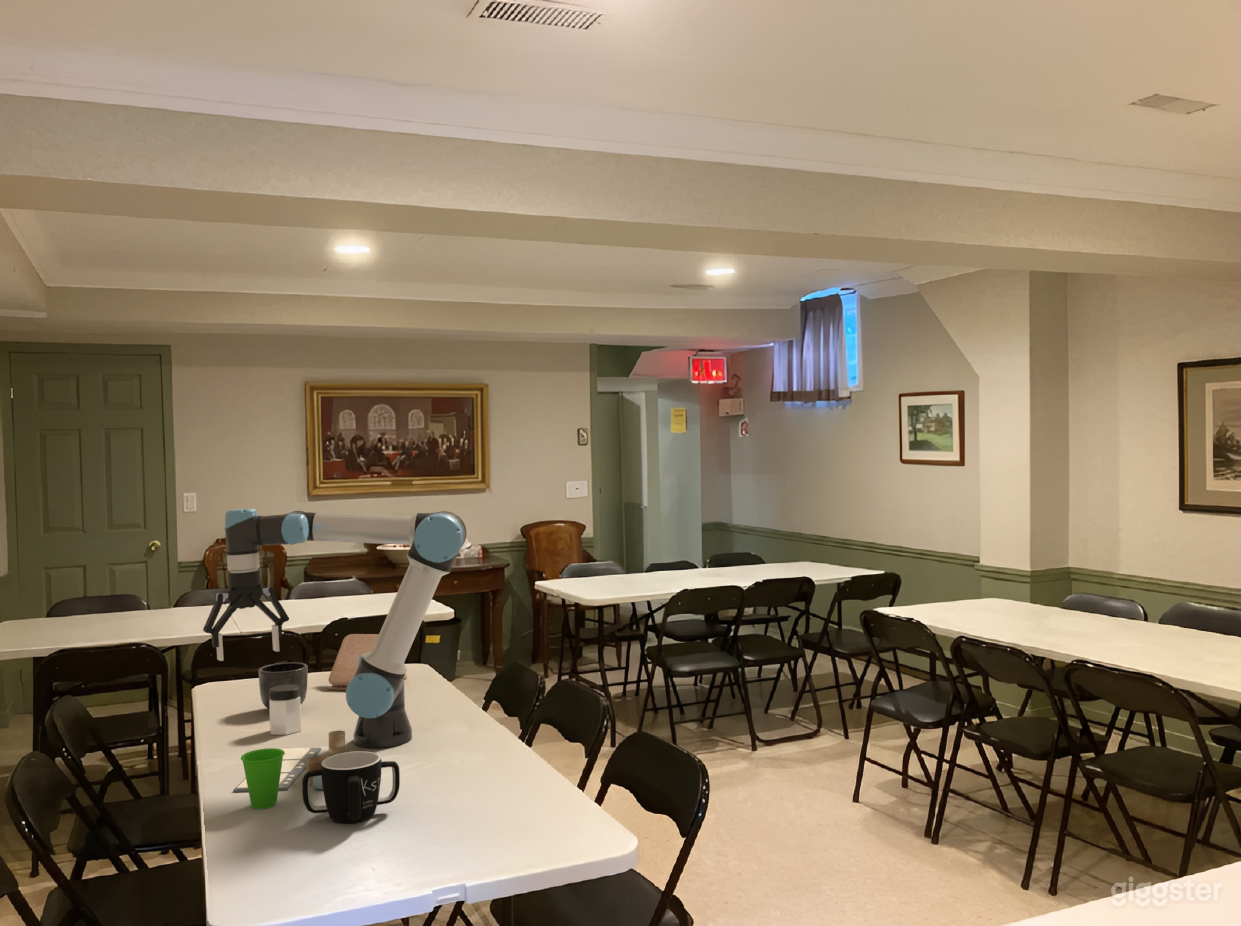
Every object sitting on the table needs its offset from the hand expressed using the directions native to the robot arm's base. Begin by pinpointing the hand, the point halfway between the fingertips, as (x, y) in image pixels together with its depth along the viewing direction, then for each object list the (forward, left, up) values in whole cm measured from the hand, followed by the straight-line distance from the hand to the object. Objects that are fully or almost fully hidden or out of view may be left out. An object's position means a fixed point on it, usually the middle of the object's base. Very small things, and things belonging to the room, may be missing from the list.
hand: (248, 655), depth 241 cm
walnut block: (-21, +17, -27) cm, 38 cm away
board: (-9, +8, -26) cm, 29 cm away
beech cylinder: (-21, -1, -26) cm, 34 cm away
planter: (+6, -49, -27) cm, 56 cm away
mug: (-34, +41, -27) cm, 59 cm away
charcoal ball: (-22, +9, -26) cm, 35 cm away
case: (-13, -80, -27) cm, 86 cm away
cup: (-13, +32, -27) cm, 43 cm away
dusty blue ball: (-23, +23, -26) cm, 42 cm away
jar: (-1, -26, -27) cm, 37 cm away
